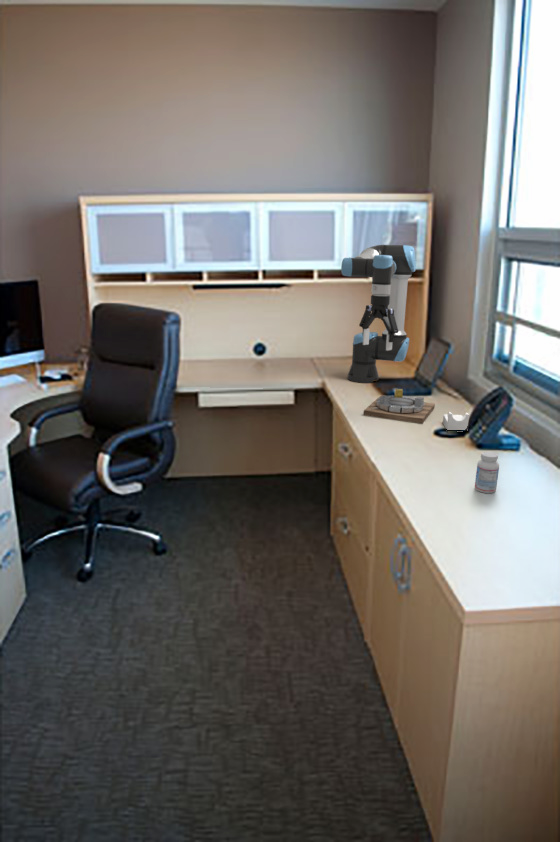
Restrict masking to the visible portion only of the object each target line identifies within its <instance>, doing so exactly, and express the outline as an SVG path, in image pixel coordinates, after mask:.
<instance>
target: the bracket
mask: <svg viewBox="0 0 560 842" xmlns="http://www.w3.org/2000/svg"><path fill="white" fill-rule="evenodd" d="M447 413H448V414H447ZM447 413H444V414H443V415H442V424H443V426H444V428H445V430H446V429H447V430H465V429H466V428H467V426H468V427H469V420H470V418H469V417H470V414H469V413H468V412H465V413H464V414H453V413H452V411H448V412H447ZM447 430H446V431H447Z"/></svg>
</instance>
